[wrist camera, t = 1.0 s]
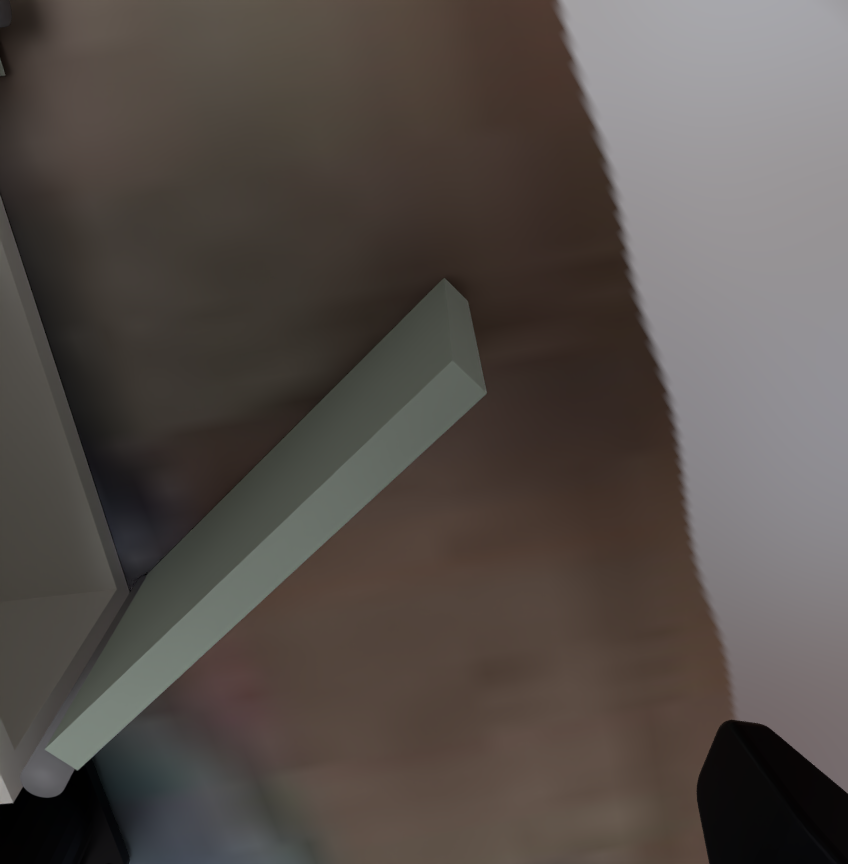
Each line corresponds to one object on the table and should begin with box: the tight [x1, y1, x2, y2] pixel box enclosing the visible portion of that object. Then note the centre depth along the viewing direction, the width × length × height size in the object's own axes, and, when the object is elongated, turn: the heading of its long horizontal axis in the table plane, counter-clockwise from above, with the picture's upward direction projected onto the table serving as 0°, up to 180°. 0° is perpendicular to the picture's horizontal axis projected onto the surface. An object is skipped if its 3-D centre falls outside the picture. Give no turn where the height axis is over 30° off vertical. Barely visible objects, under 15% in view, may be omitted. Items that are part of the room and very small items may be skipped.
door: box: [20, 278, 487, 798], centre depth 17 cm, size 12×2×7 cm, turn 135°
